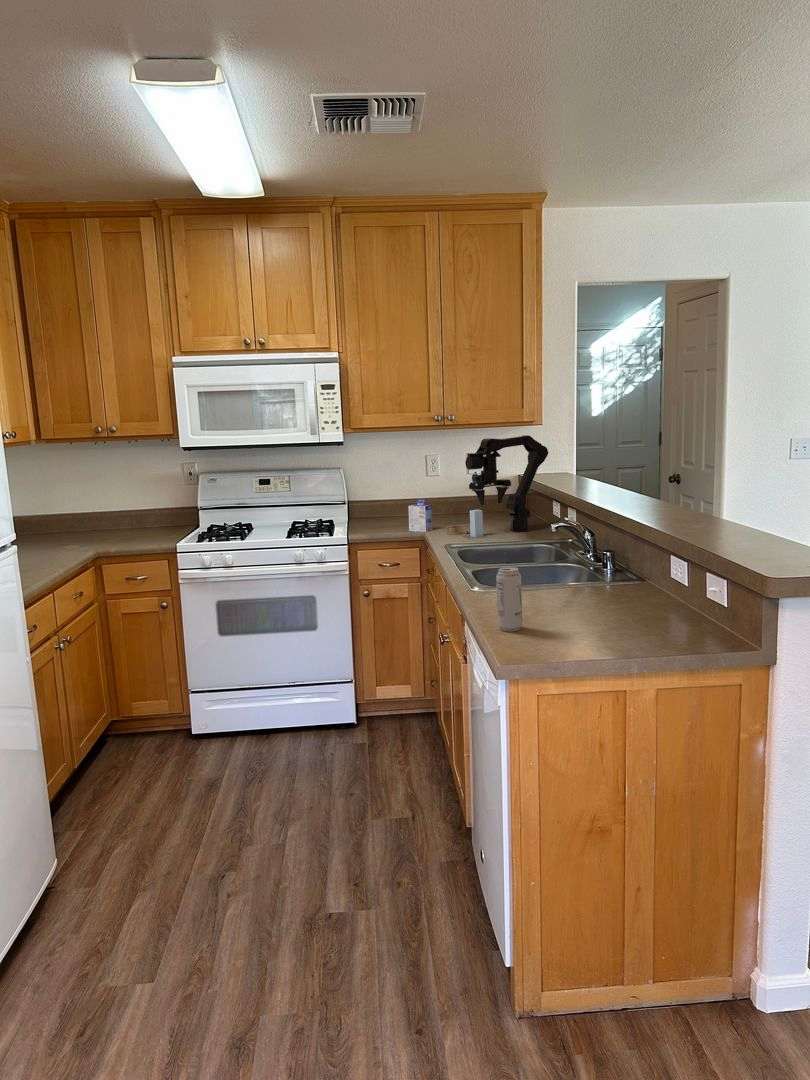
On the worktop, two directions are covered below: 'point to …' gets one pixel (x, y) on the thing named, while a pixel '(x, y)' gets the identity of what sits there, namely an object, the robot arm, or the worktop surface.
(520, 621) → the energy drink can
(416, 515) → the ink cartridge box
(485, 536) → the mat
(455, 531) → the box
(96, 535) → the worktop surface
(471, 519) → the pale blue rectangular block
